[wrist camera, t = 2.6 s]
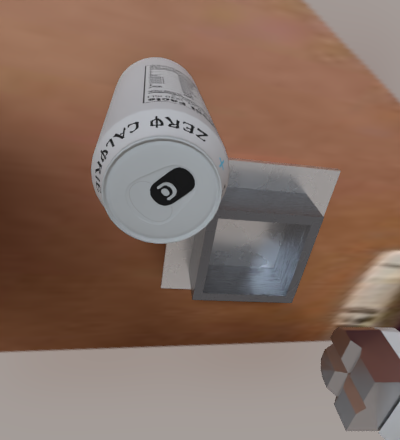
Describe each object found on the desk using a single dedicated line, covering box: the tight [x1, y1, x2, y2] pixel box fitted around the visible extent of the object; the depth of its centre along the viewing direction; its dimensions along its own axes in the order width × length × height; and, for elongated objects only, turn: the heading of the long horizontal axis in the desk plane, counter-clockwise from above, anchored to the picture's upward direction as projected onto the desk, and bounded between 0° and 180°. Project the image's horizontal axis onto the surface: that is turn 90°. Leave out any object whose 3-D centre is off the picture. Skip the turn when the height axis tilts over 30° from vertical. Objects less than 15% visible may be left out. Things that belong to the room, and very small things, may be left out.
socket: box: [161, 158, 340, 303], centre depth 33 cm, size 14×14×5 cm
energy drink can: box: [91, 57, 229, 244], centre depth 21 cm, size 6×6×15 cm
